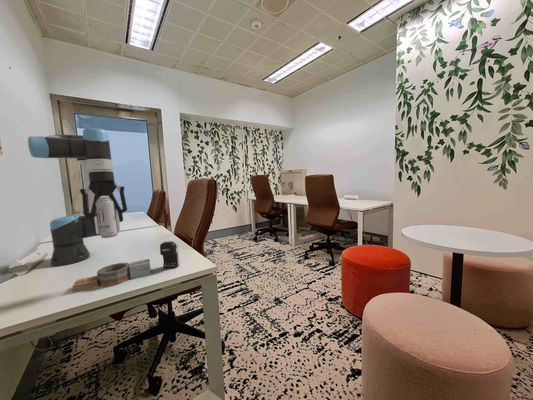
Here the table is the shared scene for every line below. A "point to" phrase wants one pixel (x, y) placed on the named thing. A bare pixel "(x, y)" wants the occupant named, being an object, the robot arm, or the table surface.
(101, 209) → the energy drink can
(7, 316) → the table surface
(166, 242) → the battery
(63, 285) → the table surface
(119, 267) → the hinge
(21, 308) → the table surface
